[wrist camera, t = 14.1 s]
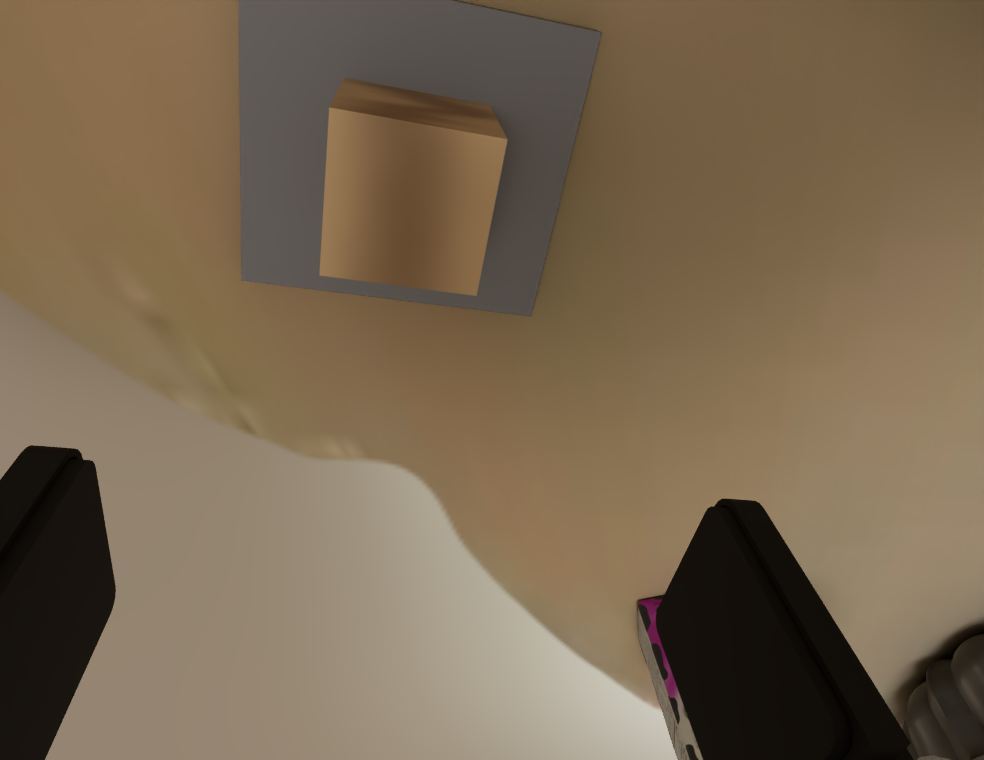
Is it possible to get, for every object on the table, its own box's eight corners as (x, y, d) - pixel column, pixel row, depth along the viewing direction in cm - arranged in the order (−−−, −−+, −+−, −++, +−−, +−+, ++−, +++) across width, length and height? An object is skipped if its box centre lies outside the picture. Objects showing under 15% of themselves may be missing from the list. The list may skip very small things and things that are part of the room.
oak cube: (489, 105, 28) (507, 139, 23) (465, 239, 31) (476, 296, 26) (344, 77, 26) (329, 107, 21) (334, 220, 30) (319, 275, 25)
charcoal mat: (595, 30, 27) (601, 32, 27) (528, 307, 34) (531, 316, 33) (243, -46, 25) (238, -46, 24) (245, 271, 32) (241, 280, 31)
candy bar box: (781, 567, 48) (929, 811, 35) (776, 609, 51) (911, 851, 37) (631, 597, 48) (720, 852, 35) (635, 638, 51) (718, 889, 37)
